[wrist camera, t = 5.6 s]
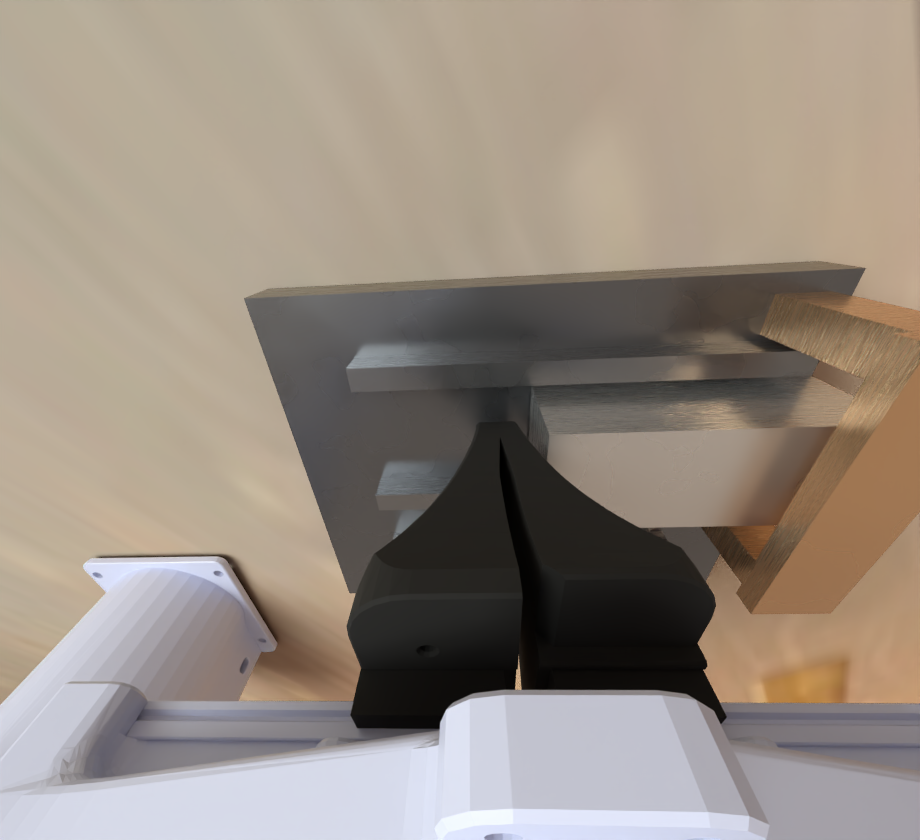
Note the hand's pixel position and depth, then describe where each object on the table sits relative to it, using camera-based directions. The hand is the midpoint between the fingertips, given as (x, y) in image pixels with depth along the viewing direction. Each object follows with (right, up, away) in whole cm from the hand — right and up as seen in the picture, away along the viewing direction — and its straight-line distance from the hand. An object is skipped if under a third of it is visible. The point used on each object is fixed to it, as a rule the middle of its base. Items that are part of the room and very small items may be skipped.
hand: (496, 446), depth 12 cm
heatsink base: (+2, -1, +3) cm, 4 cm away
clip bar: (+6, +1, +1) cm, 6 cm away
